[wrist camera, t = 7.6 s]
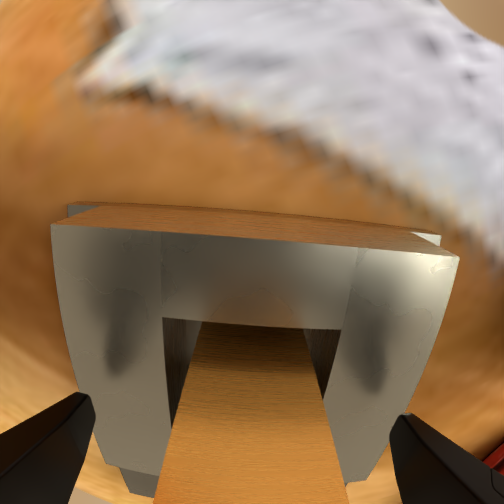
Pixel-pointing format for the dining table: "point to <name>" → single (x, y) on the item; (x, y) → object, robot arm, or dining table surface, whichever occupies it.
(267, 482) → the rectangular wooden peg
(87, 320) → the grey metal frame fixture
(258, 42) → the dining table surface
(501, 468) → the plant pot
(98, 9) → the dining table surface
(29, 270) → the dining table surface
